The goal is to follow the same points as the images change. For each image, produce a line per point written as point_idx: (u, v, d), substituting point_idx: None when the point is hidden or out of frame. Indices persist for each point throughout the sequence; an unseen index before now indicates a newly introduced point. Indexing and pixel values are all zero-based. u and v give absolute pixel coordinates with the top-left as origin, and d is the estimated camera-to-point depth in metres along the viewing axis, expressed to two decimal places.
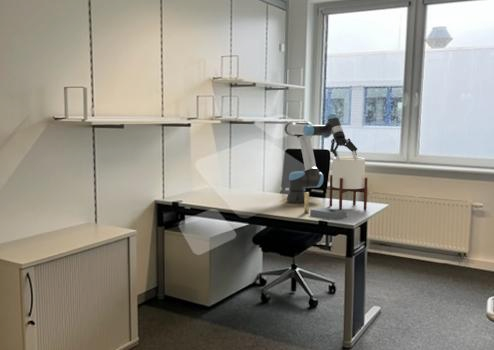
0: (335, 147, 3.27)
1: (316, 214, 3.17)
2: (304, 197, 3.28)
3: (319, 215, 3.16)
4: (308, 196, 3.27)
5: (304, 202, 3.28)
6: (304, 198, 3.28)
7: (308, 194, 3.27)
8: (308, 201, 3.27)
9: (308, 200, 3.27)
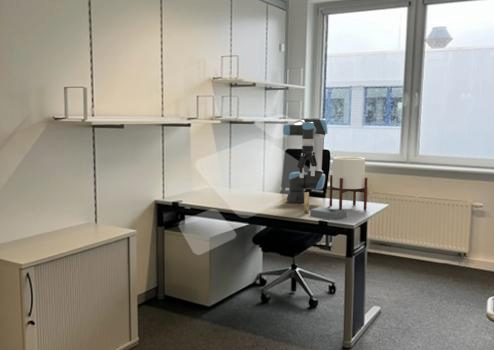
0: (303, 163, 3.20)
1: (316, 214, 3.17)
2: (304, 197, 3.28)
3: (319, 215, 3.16)
4: (308, 196, 3.27)
5: (304, 202, 3.28)
6: (304, 198, 3.28)
7: (308, 194, 3.27)
8: (308, 201, 3.27)
9: (308, 200, 3.27)
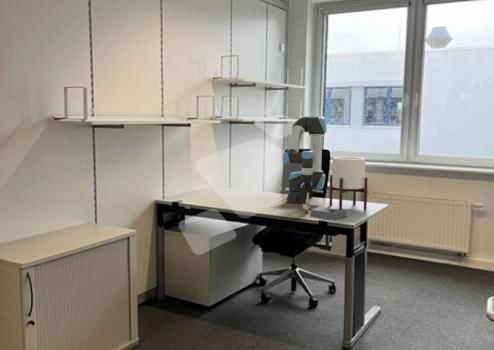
0: (305, 194, 3.25)
1: (316, 214, 3.17)
2: None
3: (319, 215, 3.16)
4: (308, 196, 3.27)
5: None
6: None
7: (308, 194, 3.27)
8: (308, 201, 3.27)
9: (308, 200, 3.27)
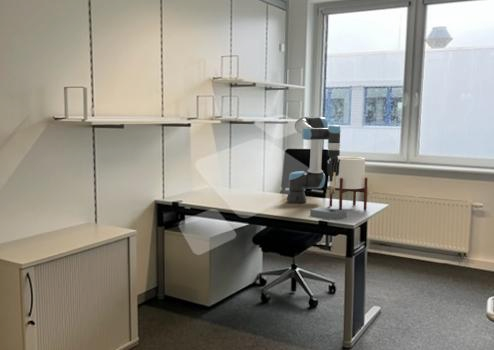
0: None
1: (316, 214, 3.17)
2: None
3: (319, 215, 3.16)
4: None
5: None
6: None
7: (335, 174, 3.12)
8: (334, 181, 3.13)
9: None
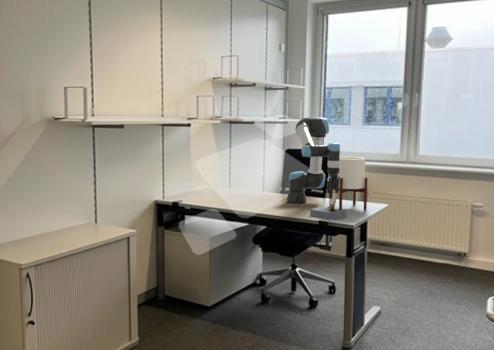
0: (331, 188, 3.11)
1: (316, 214, 3.17)
2: None
3: (319, 215, 3.16)
4: (334, 193, 3.14)
5: None
6: None
7: (334, 191, 3.13)
8: (334, 198, 3.14)
9: (334, 197, 3.14)
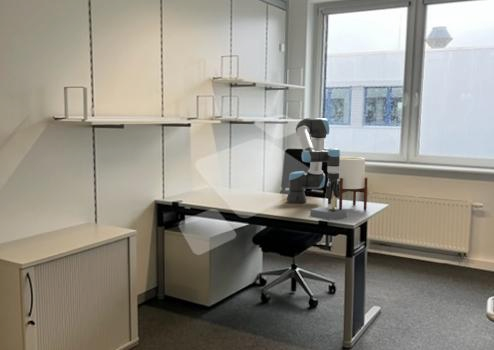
0: (330, 193, 3.11)
1: (316, 214, 3.17)
2: None
3: (319, 215, 3.16)
4: (334, 199, 3.14)
5: None
6: None
7: (334, 197, 3.14)
8: (334, 204, 3.15)
9: (334, 203, 3.15)
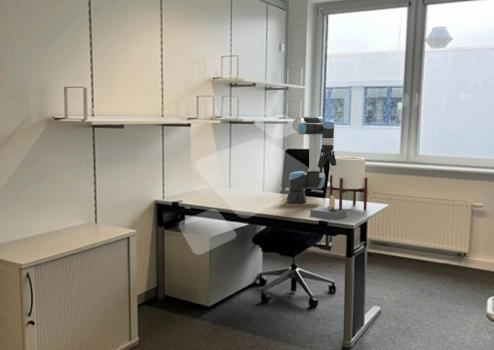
0: (323, 162, 3.16)
1: (316, 214, 3.17)
2: (330, 200, 3.15)
3: (319, 215, 3.16)
4: (334, 199, 3.14)
5: (330, 206, 3.15)
6: (330, 201, 3.15)
7: (334, 197, 3.14)
8: (334, 205, 3.15)
9: (334, 204, 3.15)
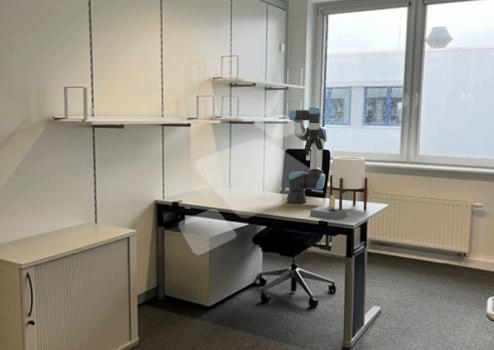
0: (309, 146, 3.35)
1: (316, 214, 3.17)
2: (330, 200, 3.15)
3: (319, 215, 3.16)
4: (334, 199, 3.14)
5: (330, 206, 3.15)
6: (330, 201, 3.15)
7: (334, 197, 3.14)
8: (334, 205, 3.15)
9: (334, 204, 3.15)
